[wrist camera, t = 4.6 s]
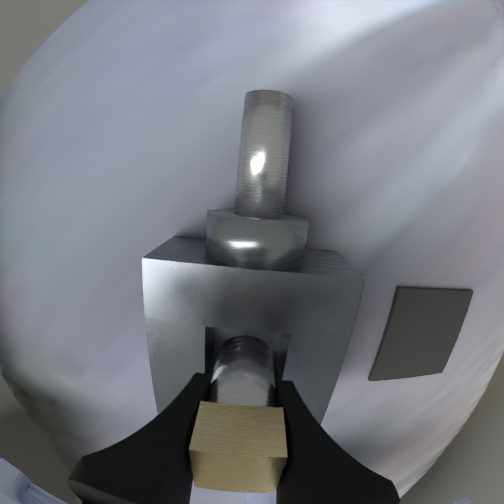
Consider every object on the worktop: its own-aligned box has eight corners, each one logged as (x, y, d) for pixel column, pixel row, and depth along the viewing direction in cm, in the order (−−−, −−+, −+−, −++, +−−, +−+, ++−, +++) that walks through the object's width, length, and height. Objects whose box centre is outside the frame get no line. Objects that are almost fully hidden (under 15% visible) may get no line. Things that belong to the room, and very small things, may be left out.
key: (269, 380, 14) (274, 493, 7) (216, 376, 14) (195, 486, 7) (275, 337, 13) (287, 457, 6) (218, 332, 13) (188, 449, 6)
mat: (440, 370, 19) (442, 372, 19) (367, 378, 19) (369, 381, 19) (470, 289, 17) (473, 291, 17) (397, 286, 17) (399, 288, 17)
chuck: (308, 379, 19) (319, 428, 14) (176, 367, 19) (157, 414, 14) (349, 123, 15) (384, 102, 10) (184, 107, 15) (155, 79, 10)
